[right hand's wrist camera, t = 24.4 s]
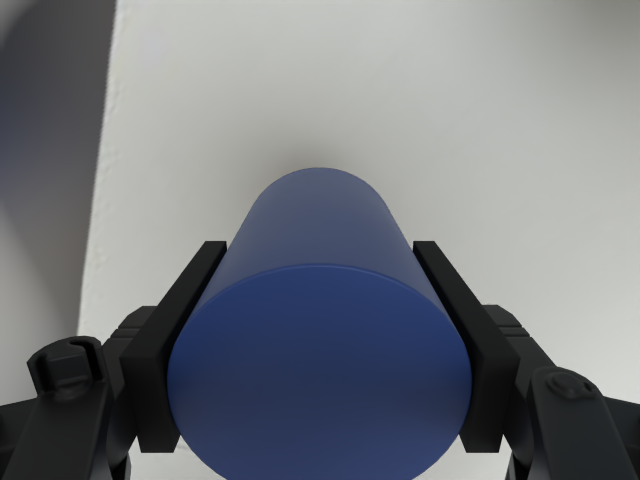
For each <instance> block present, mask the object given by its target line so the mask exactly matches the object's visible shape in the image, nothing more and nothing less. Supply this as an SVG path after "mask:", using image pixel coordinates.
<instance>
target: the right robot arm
mask: <svg viewBox="0 0 640 480" xmlns="http://www.w3.org/2000/svg"><path fill="white" fill-rule="evenodd" d="M226 252H227V244H226V241H205V242H204V244H203V245H202V247H201V248H200V249H199V251H198V252H197V253H196V255H195V256H194V257H193V259H192V260H191V261H190V263H189V264H188V265H187V267H186V268H185V269H184V271H183V272H182V273H181V275H180V276H179V277H178V279H177V280H176V281H175V283H174V284H173V285H172V287H171V288H170V289H169V291H168V292H167V294H166V295H165V296H164V298H163V299H162V300H161V302H160V303H159V304H158V306H142V307H140V308H139V309H137V310H136V311H134V312H132V313H131V314H129V315H128V316H127V317H126V318H125V319H124V320H123V322H122V323H121V324H120V325H119V326H118V329H116V330H115V331H114V332H113V333H112V335H111V336H110V338H108V339H107V341H106V342H105V343H104V344H103V345H102V346H101V342H100V341H99V340H98V339H96V338H95V337H90V336H75V337H69V338H66V339H62V340H58V341H56V342H54V343H51V344H49V345H47V346H45V347H43V348H42V349H40V350H39V351H37V352H36V353H34V354H33V355H32V357H31V358H30V359H29V360H28V361H27V366H28V368H29V371H30V374H31V377H32V380H33V383H34V386H35V389H36V392H37V395H38V396H37V398H34V399H30V400H25V401H21V402H16V403H11V404H7V405H2V406H0V480H130V475H131V462H130V457H129V453H128V451H129V449H130V447H131V445H132V443H133V441H134V440H135V438H136V436H137V438H138V442H139V446H140V450H141V453H173V452H174V450H175V447H176V445H177V442H178V440H179V437H180V435H181V434H180V432H179V430H178V428H177V427H176V425H175V422H174V419H173V417H172V414H171V411H170V407H169V402H168V397H167V370H168V364H169V359H170V356H171V353H172V350H173V347H174V344H175V342H176V340H177V338H178V337H179V335H180V333H181V331H182V329H183V327H184V325H185V324H186V322H187V320H188V318H189V317H190V315H191V313H192V311H193V310H194V308H195V306H196V304H197V303H198V301H199V299H200V297H201V296H202V294H203V292H204V290H205V289H206V287H207V285H208V283H209V282H210V280H211V278H212V276H213V275H214V273H215V271H216V269H217V268H218V266H219V264H220V262H221V261H222V259H223V257H224V255H225V253H226ZM413 253H414V255H415V257H416V259H417V260H418V262H419V264H420V266H421V267H422V269H423V271H424V273H425V275H426V276H427V278H428V280H429V282H430V283H431V285H432V287H433V289H434V290H435V292H436V294H437V296H438V298H439V299H440V301H441V303H442V305H443V306H444V308H445V310H446V312H447V313H448V315H449V317H450V319H451V321H452V322H453V324H454V326H455V328H456V329H457V331H458V333H459V335H460V337H461V339H462V341H463V342H464V345H465V347H466V350H467V353H468V356H469V359H470V365H471V371H472V396H471V402H470V407H469V411H468V414H467V416H466V419H465V422H464V424H463V426H462V428H461V430H460V432H459V436H460V438H461V441H462V443H463V446H464V448H465V451H466V453H499V449H500V445H501V441H502V436H503V434H504V436H505V438H506V440H507V442H508V444H509V446H510V448H511V449H512V453H511V457H510V461H509V465H508V469H507V473H506V477H505V480H640V404H636V403H632V402H627V401H622V400H618V399H613V398H609V397H605V396H603V395H602V393H601V392H600V391H599V389H598V388H597V386H596V385H594V384H593V383H592V382H591V381H589V380H588V379H587V378H585V377H584V376H582V375H580V374H578V373H576V372H574V371H571V370H568V369H564V368H561V367H557V366H556V365H555V364H554V363H553V362H552V360H551V359H550V358H549V357H548V356H547V355H546V353H545V352H544V351H543V350H542V349H541V347H540V346H539V345H538V344H537V343H536V342H535V340H534V339H533V338H532V337H530V334H529V333H528V332H527V331H526V330H525V329H524V328H522V325H521V324H520V323H519V322H518V320H517V319H516V318H515V317H514V316H513V314H511V313H510V312H508V311H506V310H505V309H503V308H502V307H500V306H498V305H481V303H480V302H479V301H478V299H477V298H476V297H475V295H474V294H473V293H472V291H471V290H470V288H469V287H468V286H467V284H466V283H465V282H464V280H463V279H462V278H461V276H460V275H459V274H458V272H457V271H456V270H455V268H454V267H453V266H452V264H451V263H450V262H449V260H448V259H447V258H446V256H445V255H444V254H443V252H442V251H441V250H440V248H439V247H438V246H437V244H436V243H435V241H414V242H413Z"/></svg>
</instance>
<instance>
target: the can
mask: <svg viewBox="0 0 640 480" xmlns="http://www.w3.org/2000/svg"><path fill="white" fill-rule="evenodd" d="M471 396H472V371H471V365H470V359H469V356H468V353H467V350H466V347H465V345H464V342H463V341H462V339H461V337H460V335H459V333H458V331H457V329H456V328H455V326H454V324H453V322H452V321H451V319H450V317H449V315H448V313H447V312H446V310H445V308H444V306H443V305H442V303H441V301H440V299H439V298H438V296H437V294H436V292H435V290H434V289H433V287H432V285H431V283H430V282H429V280H428V278H427V276H426V275H425V273H424V271H423V269H422V267H421V266H420V264H419V262H418V260H417V259H416V257H415V255H414V253H413V252H412V250H411V248H410V246H409V244H408V243H407V241H406V239H405V237H404V236H403V234H402V232H401V230H400V229H399V227H398V225H397V223H396V221H395V220H394V218H393V216H392V214H391V213H390V211H389V209H388V207H387V206H386V204H385V202H384V201H383V199H382V198H381V197H380V195H379V194H378V193H377V192H376V191H375V190H374V189H373V188H372V187H371V186H370V185H368V184H367V183H366V182H365V181H363V180H361V179H360V178H358V177H356V176H354V175H352V174H350V173H347V172H344V171H341V170H337V169H331V168H309V169H303V170H299V171H295V172H292V173H290V174H287V175H285V176H283V177H281V178H280V179H278V180H276V181H275V182H273V183H272V184H271V185H270V186H268V187H267V188H266V189H265V190H264V191H263V192H262V193H261V194H260V196H259V197H258V198H257V200H256V201H255V203H254V204H253V206H252V208H251V210H250V211H249V213H248V215H247V217H246V218H245V220H244V222H243V224H242V225H241V227H240V229H239V231H238V232H237V234H236V236H235V238H234V239H233V241H232V243H231V245H230V246H229V248H228V250H227V252H226V253H225V255H224V257H223V259H222V261H221V262H220V264H219V266H218V268H217V269H216V271H215V273H214V275H213V276H212V278H211V280H210V282H209V283H208V285H207V287H206V289H205V290H204V292H203V294H202V296H201V297H200V299H199V301H198V303H197V304H196V306H195V308H194V310H193V311H192V313H191V315H190V317H189V318H188V320H187V322H186V324H185V325H184V327H183V329H182V331H181V333H180V335H179V337H178V338H177V340H176V342H175V344H174V347H173V350H172V353H171V356H170V359H169V364H168V370H167V397H168V402H169V407H170V411H171V414H172V417H173V419H174V422H175V425H176V427H177V428H178V430H179V432H180V434H181V436H182V438H183V439H184V440H185V442H186V443H187V445H188V446H189V447H190V449H191V450H192V451H193V452H194V453H195V454H196V455H197V456H198V457H199V458H200V459H201V460H202V461H203V462H204V463H205V464H206V465H207V466H208V467H210V468H211V469H212V470H213V471H215V472H216V473H217V474H219V475H220V476H222V477H224V478H225V479H227V480H412V479H414V478H415V477H417V476H418V475H420V474H422V473H423V472H424V471H426V470H427V469H428V468H429V467H431V466H432V465H433V464H434V463H435V462H437V460H438V459H439V458H440V457H441V456H442V455H443V454H444V453H445V452H446V451H447V450H448V449H449V447H450V446H451V444H452V443H453V442H454V440H455V439H456V438H457V436H458V434H459V432H460V430H461V428H462V426H463V424H464V422H465V419H466V416H467V414H468V411H469V407H470V402H471Z"/></svg>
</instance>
